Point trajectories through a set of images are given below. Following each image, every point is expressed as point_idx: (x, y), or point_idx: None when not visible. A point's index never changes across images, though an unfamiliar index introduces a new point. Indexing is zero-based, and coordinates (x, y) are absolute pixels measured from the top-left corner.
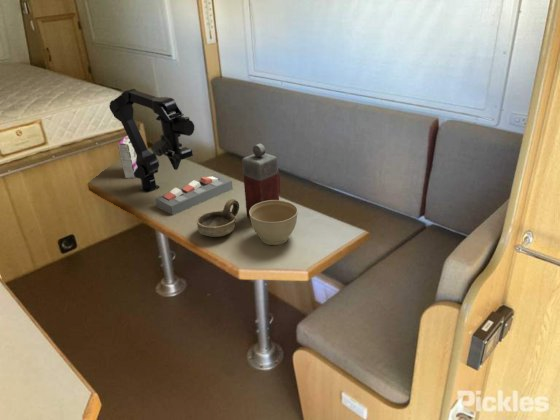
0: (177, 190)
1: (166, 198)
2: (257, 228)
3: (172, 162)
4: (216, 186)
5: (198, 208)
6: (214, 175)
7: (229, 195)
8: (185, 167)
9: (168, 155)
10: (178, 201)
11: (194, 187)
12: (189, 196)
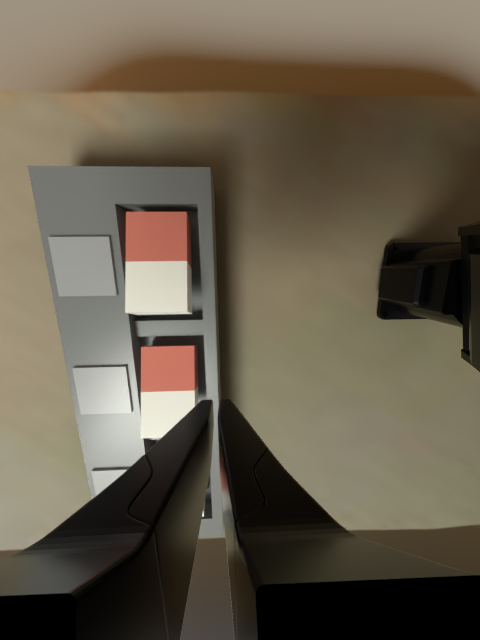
0: (144, 296)
1: (153, 213)
2: None
3: (223, 456)
4: (93, 470)
5: (54, 314)
6: (210, 526)
7: (76, 463)
8: (439, 493)
9: (252, 633)
10: (59, 236)
11: (143, 393)
12: (80, 319)
